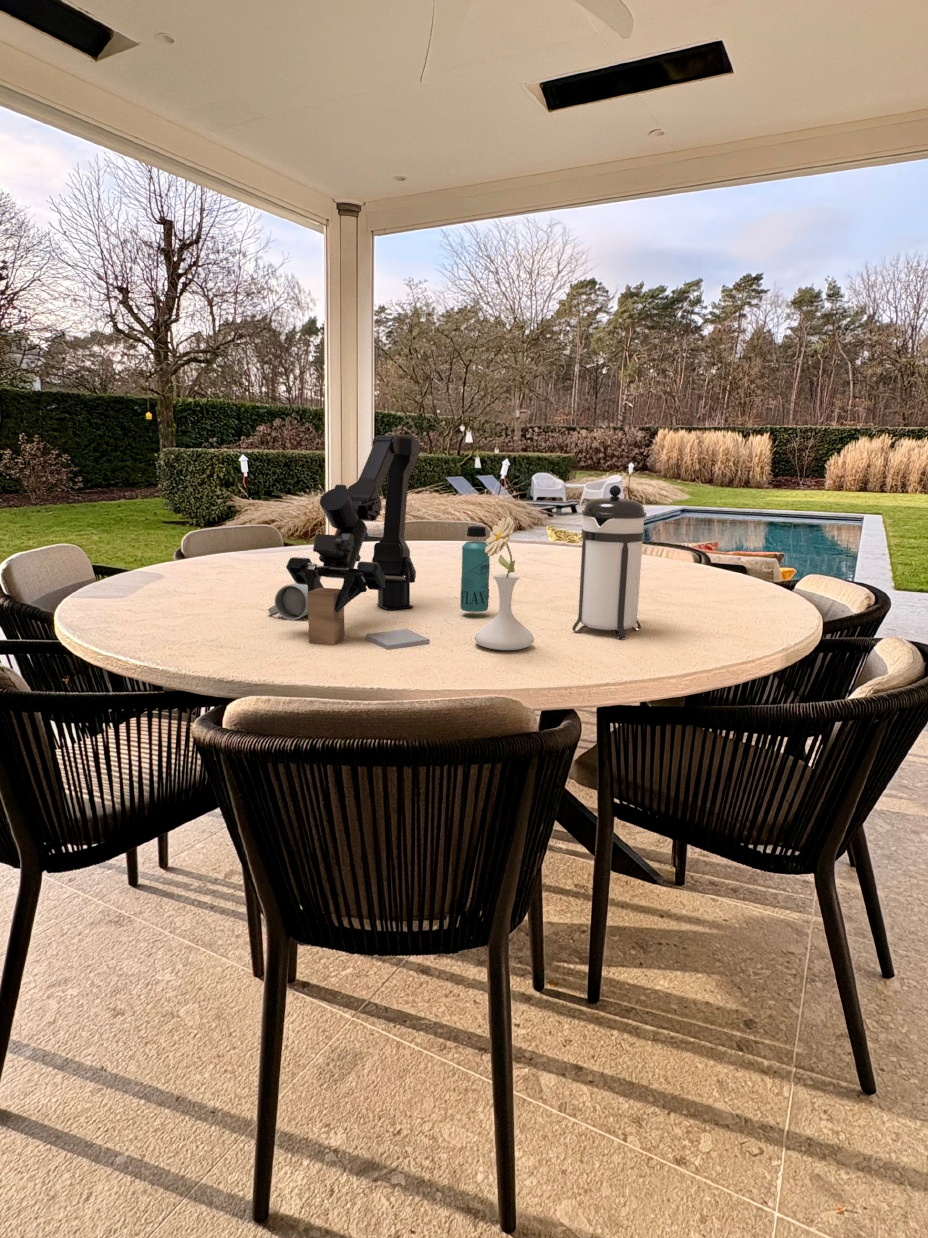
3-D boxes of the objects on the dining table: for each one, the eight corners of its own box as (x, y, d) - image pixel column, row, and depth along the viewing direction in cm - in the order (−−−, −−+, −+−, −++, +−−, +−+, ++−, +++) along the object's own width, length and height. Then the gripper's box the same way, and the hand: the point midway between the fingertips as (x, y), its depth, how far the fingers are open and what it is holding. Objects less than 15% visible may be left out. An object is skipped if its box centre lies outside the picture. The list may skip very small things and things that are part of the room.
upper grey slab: (407, 633, 156) (407, 628, 156) (429, 644, 148) (429, 639, 148) (366, 639, 151) (366, 634, 151) (387, 650, 144) (387, 645, 143)
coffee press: (659, 639, 157) (671, 487, 150) (583, 640, 154) (591, 487, 147) (628, 619, 173) (637, 483, 167) (558, 621, 171) (565, 482, 164)
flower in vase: (474, 639, 154) (477, 511, 148) (532, 640, 153) (537, 513, 148) (473, 657, 141) (476, 518, 135) (536, 658, 141) (542, 519, 135)
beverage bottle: (455, 617, 173) (456, 526, 168) (466, 611, 179) (468, 524, 174) (482, 620, 170) (485, 528, 166) (493, 614, 176) (495, 525, 172)
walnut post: (321, 637, 152) (319, 587, 150) (344, 640, 151) (343, 589, 148) (309, 644, 147) (307, 592, 145) (333, 646, 146) (332, 594, 144)
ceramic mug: (322, 613, 174) (321, 579, 172) (307, 621, 166) (306, 585, 165) (278, 611, 176) (276, 577, 174) (261, 619, 168) (259, 584, 167)
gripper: (289, 515, 150) (261, 581, 142) (379, 519, 145) (355, 588, 137) (309, 551, 159) (284, 614, 151) (394, 556, 154) (373, 622, 146)
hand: (322, 609), depth 146 cm, fingers closed on walnut post, 5 cm apart
